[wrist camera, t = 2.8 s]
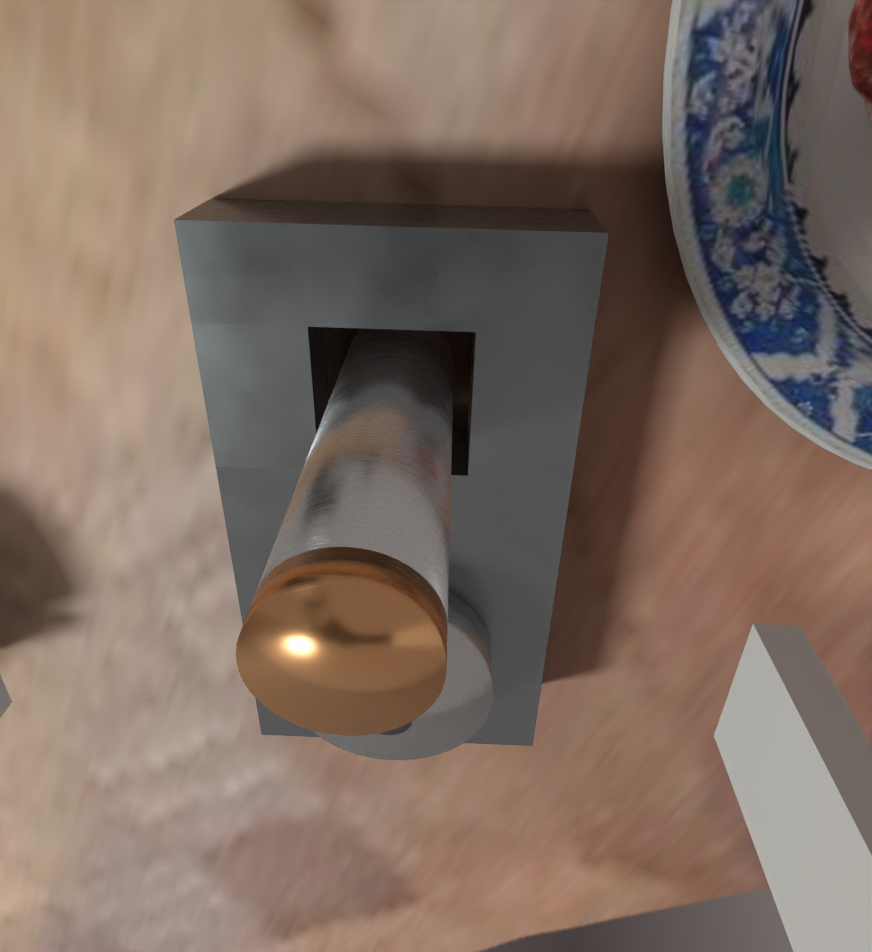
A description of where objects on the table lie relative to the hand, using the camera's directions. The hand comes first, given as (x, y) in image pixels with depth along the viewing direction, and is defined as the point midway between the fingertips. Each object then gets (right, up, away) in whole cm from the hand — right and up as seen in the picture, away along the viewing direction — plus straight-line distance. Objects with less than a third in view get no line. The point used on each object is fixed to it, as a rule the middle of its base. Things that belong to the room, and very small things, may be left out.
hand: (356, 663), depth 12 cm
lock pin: (0, +7, +11) cm, 13 cm away
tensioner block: (0, +3, +13) cm, 14 cm away
